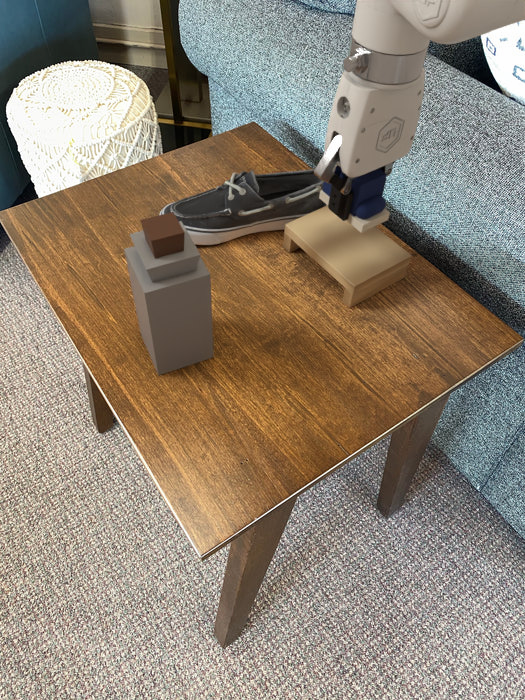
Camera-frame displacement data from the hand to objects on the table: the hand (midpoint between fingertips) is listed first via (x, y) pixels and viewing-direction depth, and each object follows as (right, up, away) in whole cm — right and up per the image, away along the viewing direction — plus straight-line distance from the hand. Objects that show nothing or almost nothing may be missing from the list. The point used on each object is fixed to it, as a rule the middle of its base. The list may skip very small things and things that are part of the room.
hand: (354, 205), depth 70 cm
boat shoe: (-14, 0, +12) cm, 18 cm away
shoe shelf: (0, -6, +7) cm, 9 cm away
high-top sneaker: (0, 0, 0) cm, 1 cm away
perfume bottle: (-22, -17, -3) cm, 28 cm away
